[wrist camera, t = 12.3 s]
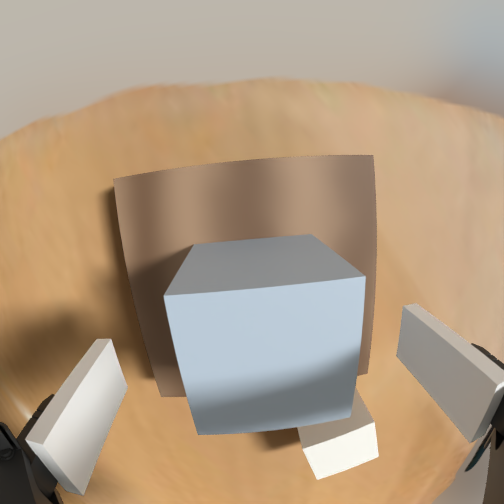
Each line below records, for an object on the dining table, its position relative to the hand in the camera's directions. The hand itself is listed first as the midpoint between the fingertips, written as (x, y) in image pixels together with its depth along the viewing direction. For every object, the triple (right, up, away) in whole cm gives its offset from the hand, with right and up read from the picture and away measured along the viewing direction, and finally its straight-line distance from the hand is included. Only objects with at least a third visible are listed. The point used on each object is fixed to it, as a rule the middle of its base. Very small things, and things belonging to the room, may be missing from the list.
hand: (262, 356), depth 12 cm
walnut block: (0, +3, +10) cm, 11 cm away
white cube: (+7, -11, +14) cm, 19 cm away
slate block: (0, +2, +6) cm, 7 cm away
